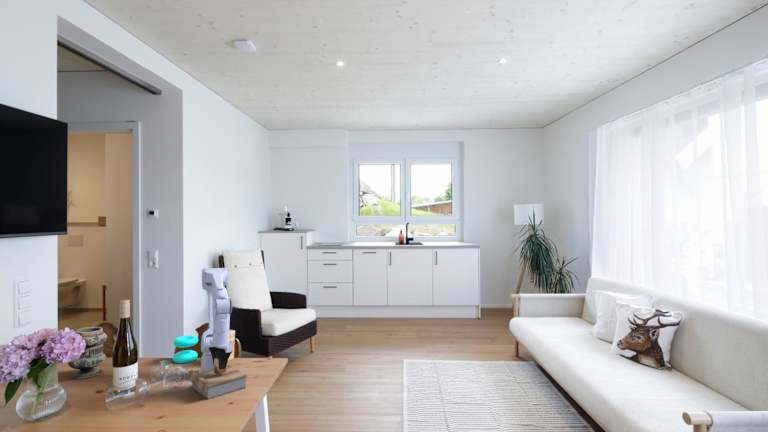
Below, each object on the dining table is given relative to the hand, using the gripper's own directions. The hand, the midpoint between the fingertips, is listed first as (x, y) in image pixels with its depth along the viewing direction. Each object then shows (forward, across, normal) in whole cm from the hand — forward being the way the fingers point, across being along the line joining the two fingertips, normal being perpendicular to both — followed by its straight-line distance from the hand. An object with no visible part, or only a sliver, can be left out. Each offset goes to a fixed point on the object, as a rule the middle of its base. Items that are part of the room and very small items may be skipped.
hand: (219, 367), depth 143 cm
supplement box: (+8, -26, +14) cm, 31 cm away
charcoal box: (+8, 0, 0) cm, 8 cm away
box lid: (+5, 0, 0) cm, 5 cm away
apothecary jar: (+8, -48, -32) cm, 58 cm away
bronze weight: (+2, 0, 0) cm, 2 cm away
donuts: (+8, -39, +2) cm, 40 cm away
